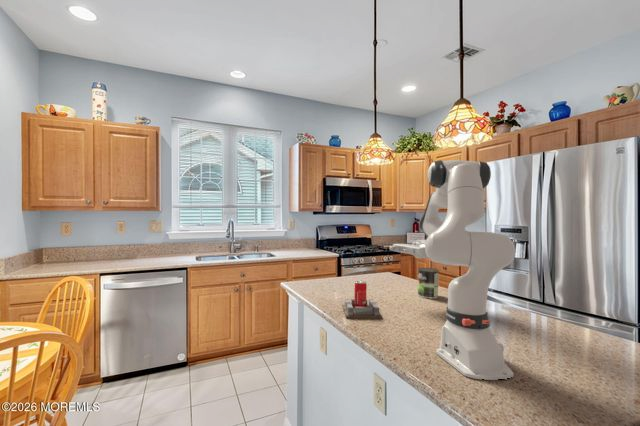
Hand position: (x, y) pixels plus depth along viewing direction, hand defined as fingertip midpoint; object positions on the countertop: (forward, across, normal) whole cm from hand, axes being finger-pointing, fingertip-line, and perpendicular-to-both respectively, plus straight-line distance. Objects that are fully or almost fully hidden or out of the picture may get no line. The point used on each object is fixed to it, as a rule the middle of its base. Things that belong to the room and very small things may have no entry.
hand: (396, 249), depth 144 cm
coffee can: (-29, -11, +27) cm, 41 cm away
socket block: (+18, -1, +27) cm, 33 cm away
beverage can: (+18, -2, +26) cm, 32 cm away
